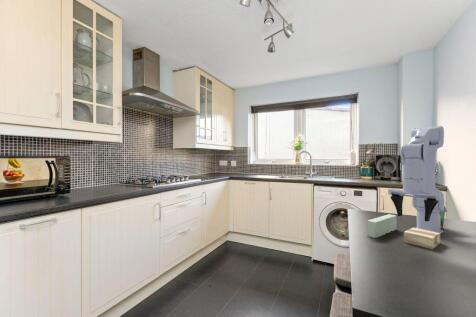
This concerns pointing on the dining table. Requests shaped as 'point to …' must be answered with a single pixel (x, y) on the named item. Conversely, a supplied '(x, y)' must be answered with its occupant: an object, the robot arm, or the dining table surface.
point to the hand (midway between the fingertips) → (412, 218)
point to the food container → (442, 217)
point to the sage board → (381, 225)
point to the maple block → (422, 238)
